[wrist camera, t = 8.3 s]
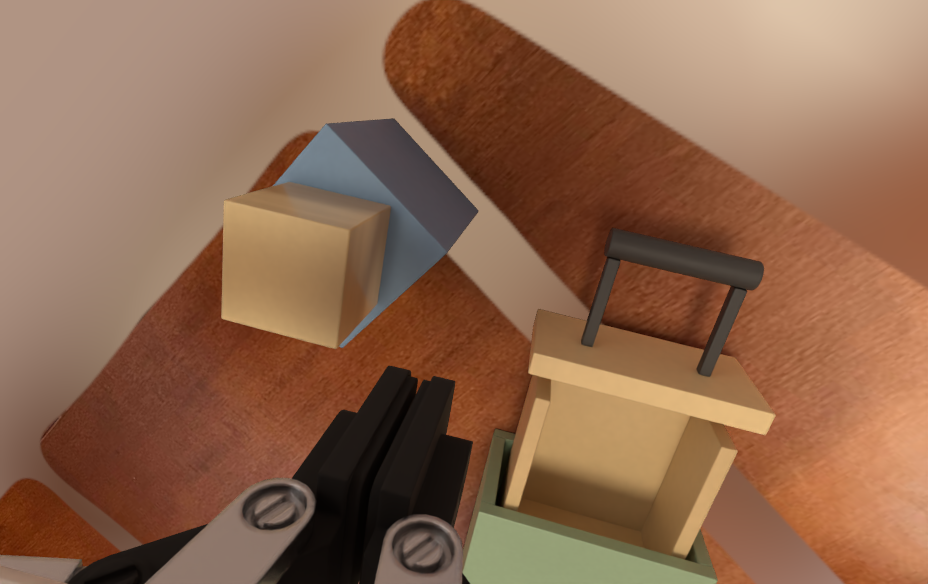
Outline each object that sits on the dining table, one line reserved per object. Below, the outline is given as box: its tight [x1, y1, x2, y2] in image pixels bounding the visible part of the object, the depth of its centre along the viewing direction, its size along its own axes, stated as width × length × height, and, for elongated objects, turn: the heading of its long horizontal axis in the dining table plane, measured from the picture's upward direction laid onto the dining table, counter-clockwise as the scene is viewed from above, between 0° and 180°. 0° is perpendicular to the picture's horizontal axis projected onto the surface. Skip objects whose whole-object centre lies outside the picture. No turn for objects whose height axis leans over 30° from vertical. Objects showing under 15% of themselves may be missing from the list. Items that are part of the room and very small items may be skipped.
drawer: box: [497, 228, 775, 560], centre depth 28 cm, size 20×11×6 cm, turn 168°
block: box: [222, 182, 391, 349], centre depth 20 cm, size 4×4×4 cm
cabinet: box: [462, 429, 718, 584], centre depth 33 cm, size 15×13×8 cm
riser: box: [273, 119, 478, 348], centre depth 26 cm, size 7×7×9 cm
